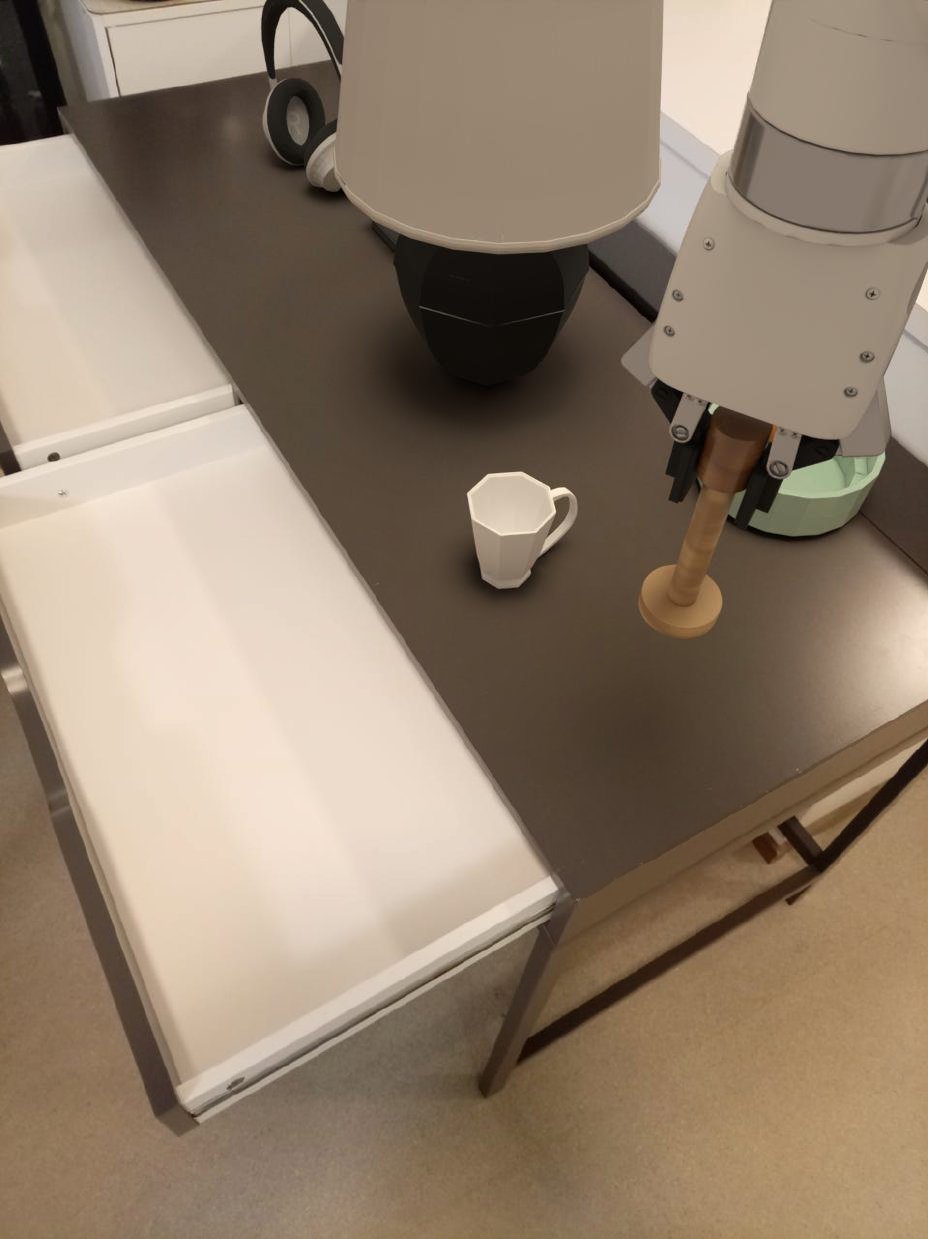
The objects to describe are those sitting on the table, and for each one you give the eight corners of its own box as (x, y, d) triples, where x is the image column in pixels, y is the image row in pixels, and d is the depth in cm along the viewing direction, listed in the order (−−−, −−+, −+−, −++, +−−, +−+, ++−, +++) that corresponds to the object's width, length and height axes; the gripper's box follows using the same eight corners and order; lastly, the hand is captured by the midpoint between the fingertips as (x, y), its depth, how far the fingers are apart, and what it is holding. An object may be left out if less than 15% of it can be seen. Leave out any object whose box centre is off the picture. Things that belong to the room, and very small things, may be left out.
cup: (447, 556, 75) (448, 488, 69) (546, 514, 78) (557, 446, 72) (490, 614, 72) (495, 549, 65) (592, 568, 75) (607, 502, 68)
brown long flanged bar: (728, 595, 57) (806, 409, 45) (701, 651, 54) (776, 469, 42) (656, 565, 58) (712, 376, 46) (625, 618, 56) (677, 432, 43)
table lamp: (485, 260, 101) (508, -212, 69) (673, 372, 90) (805, -127, 58) (296, 361, 90) (218, -148, 58) (486, 504, 79) (521, -27, 47)
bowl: (879, 460, 84) (903, 414, 79) (833, 567, 76) (858, 523, 71) (725, 403, 88) (741, 357, 83) (667, 499, 80) (680, 454, 75)
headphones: (252, 153, 114) (222, -31, 98) (308, 135, 117) (288, -46, 101) (334, 219, 106) (316, 29, 89) (392, 197, 109) (385, 10, 93)
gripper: (1076, 172, 33) (882, 511, 48) (669, 71, 38) (606, 409, 53) (1046, 269, 29) (845, 606, 44) (596, 144, 34) (550, 487, 49)
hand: (716, 496), depth 48 cm, fingers closed on brown long flanged bar, 3 cm apart
